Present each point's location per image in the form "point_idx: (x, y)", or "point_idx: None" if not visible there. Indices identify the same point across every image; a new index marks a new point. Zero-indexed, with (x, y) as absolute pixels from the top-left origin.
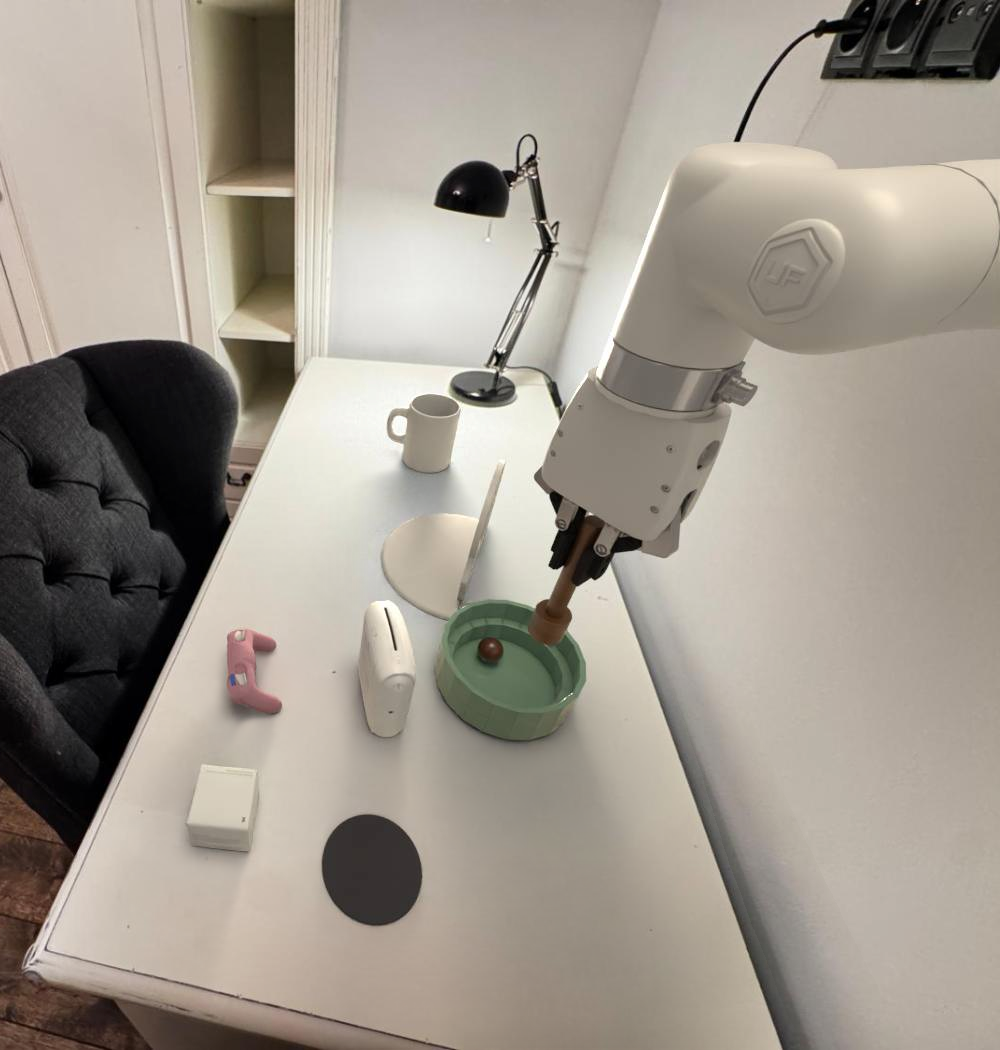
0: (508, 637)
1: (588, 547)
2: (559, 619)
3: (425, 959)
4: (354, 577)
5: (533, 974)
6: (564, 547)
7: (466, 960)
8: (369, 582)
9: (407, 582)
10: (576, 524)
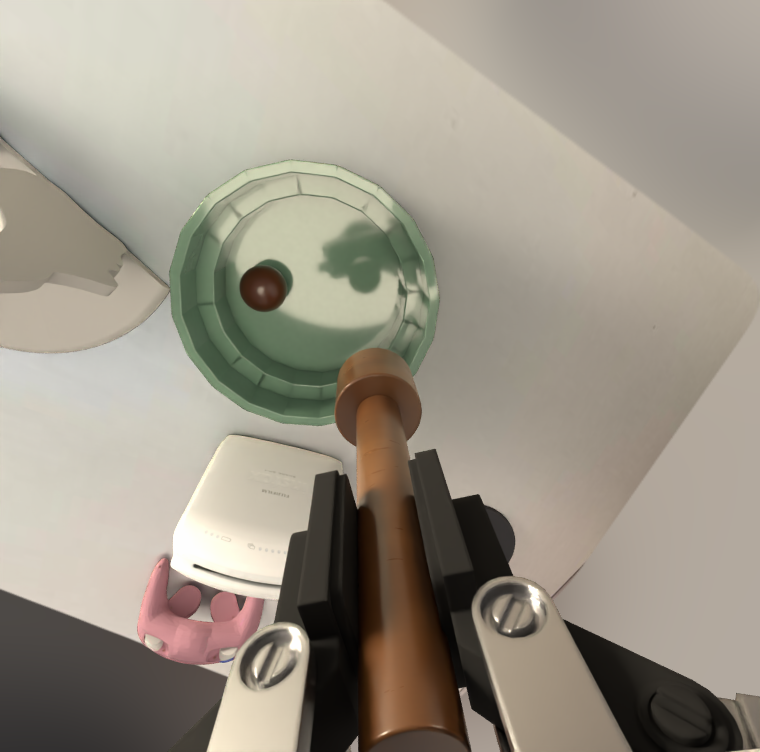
0: (241, 227)
1: (458, 683)
2: (403, 418)
3: (550, 532)
4: (27, 403)
5: (610, 458)
6: None
7: (569, 503)
8: (44, 384)
9: (57, 326)
10: (350, 730)
